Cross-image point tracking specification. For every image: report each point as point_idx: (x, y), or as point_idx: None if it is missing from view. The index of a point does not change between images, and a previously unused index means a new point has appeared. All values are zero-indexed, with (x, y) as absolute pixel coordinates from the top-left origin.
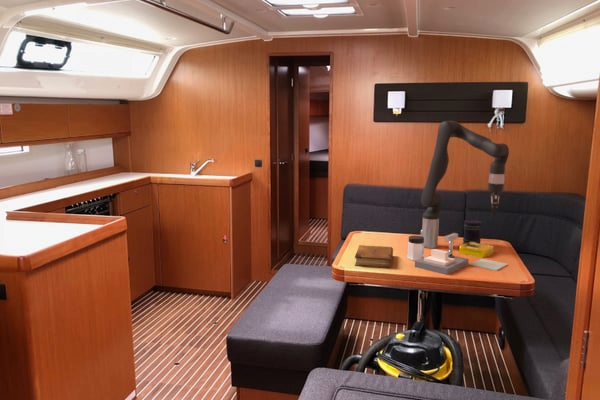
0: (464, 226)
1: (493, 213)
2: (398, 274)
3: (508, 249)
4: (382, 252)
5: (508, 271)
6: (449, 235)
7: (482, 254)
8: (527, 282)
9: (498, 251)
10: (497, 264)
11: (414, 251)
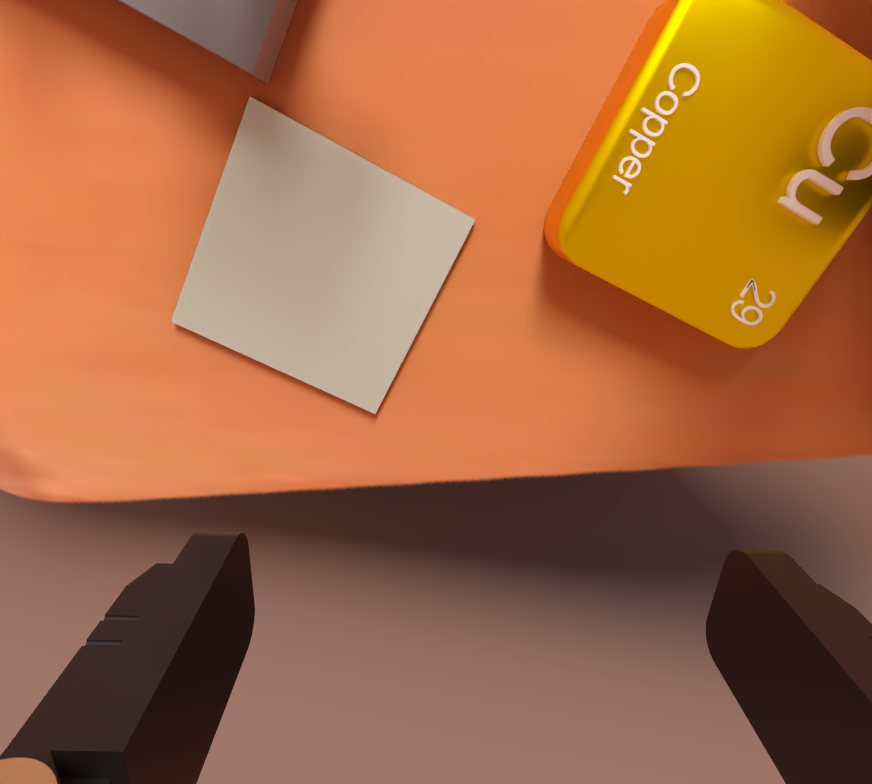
0: None
1: (157, 584)
2: None
3: (834, 456)
4: None
5: (206, 401)
6: None
7: (549, 233)
8: (5, 489)
9: (767, 379)
10: (329, 340)
11: None
